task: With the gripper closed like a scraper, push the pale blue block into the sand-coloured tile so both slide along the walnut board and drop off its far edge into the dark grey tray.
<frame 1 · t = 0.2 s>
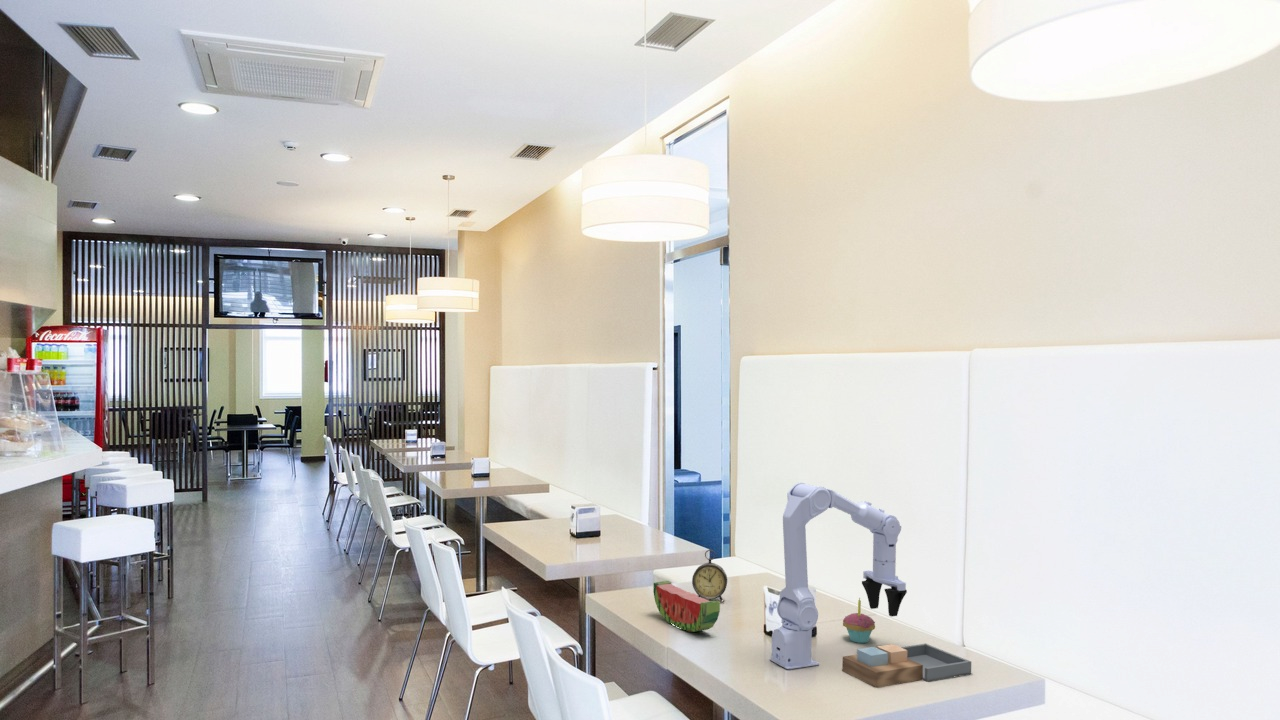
hand: (883, 612, 216), 10 cm above the table, tool pointing down, fingers open, 7 cm apart
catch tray: (926, 667, 203), on the table
tile sand: (891, 659, 199), point 3 cm above the table, touching bench board
cupcake: (858, 641, 225), on the table
alarm clock: (709, 601, 262), on the table
fruit slice: (684, 627, 234), on the table
bench board: (881, 675, 198), on the table
pale blue block: (872, 662, 196), point 3 cm above the table, touching bench board
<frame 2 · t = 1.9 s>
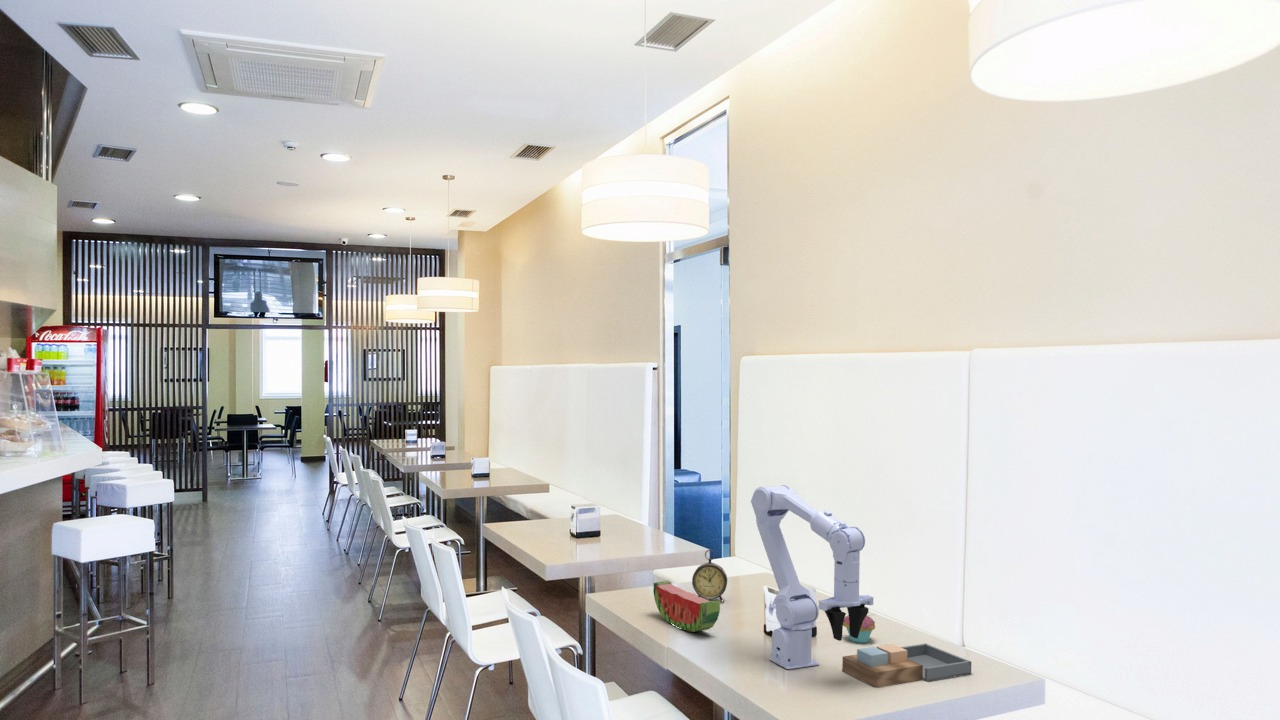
hand: (845, 638, 193), 10 cm above the table, tool pointing down, fingers open, 4 cm apart
nothing on the table moved.
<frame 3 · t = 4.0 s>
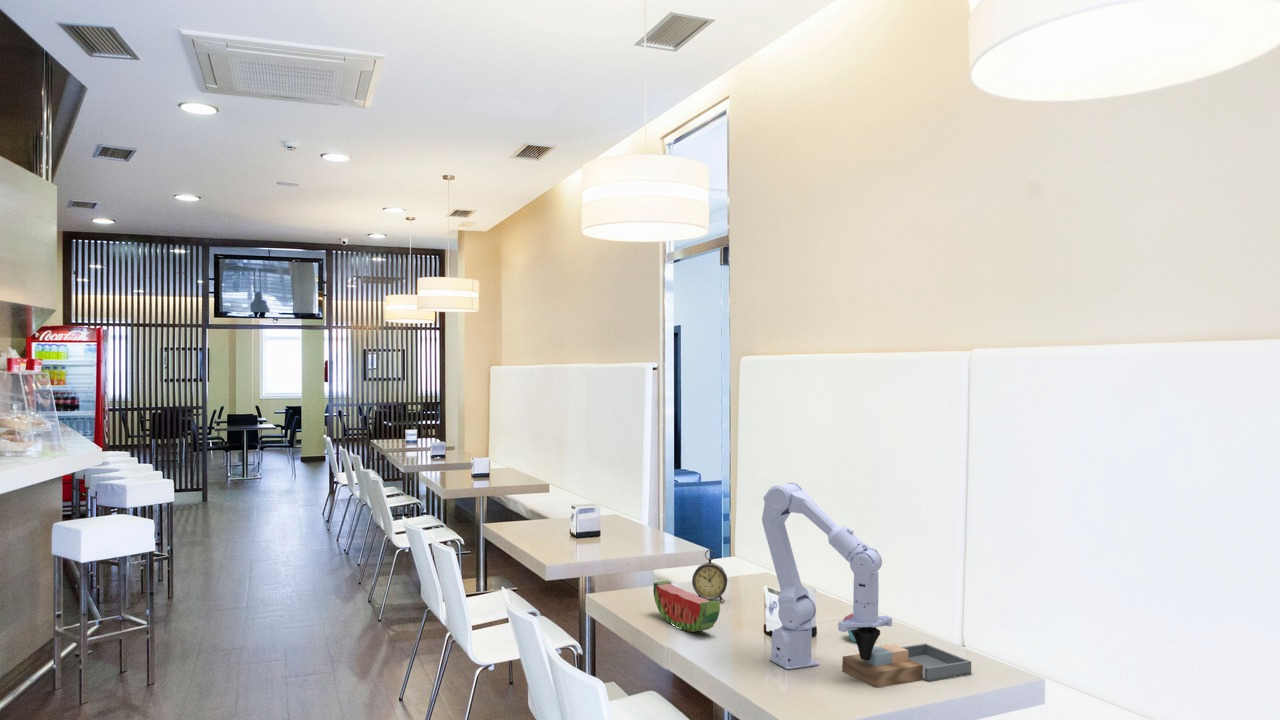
hand: (865, 659, 195), 4 cm above the table, tool pointing down, fingers closed
pale blue block: (876, 661, 197), point 3 cm above the table, touching bench board, gripper
everything else where it was.
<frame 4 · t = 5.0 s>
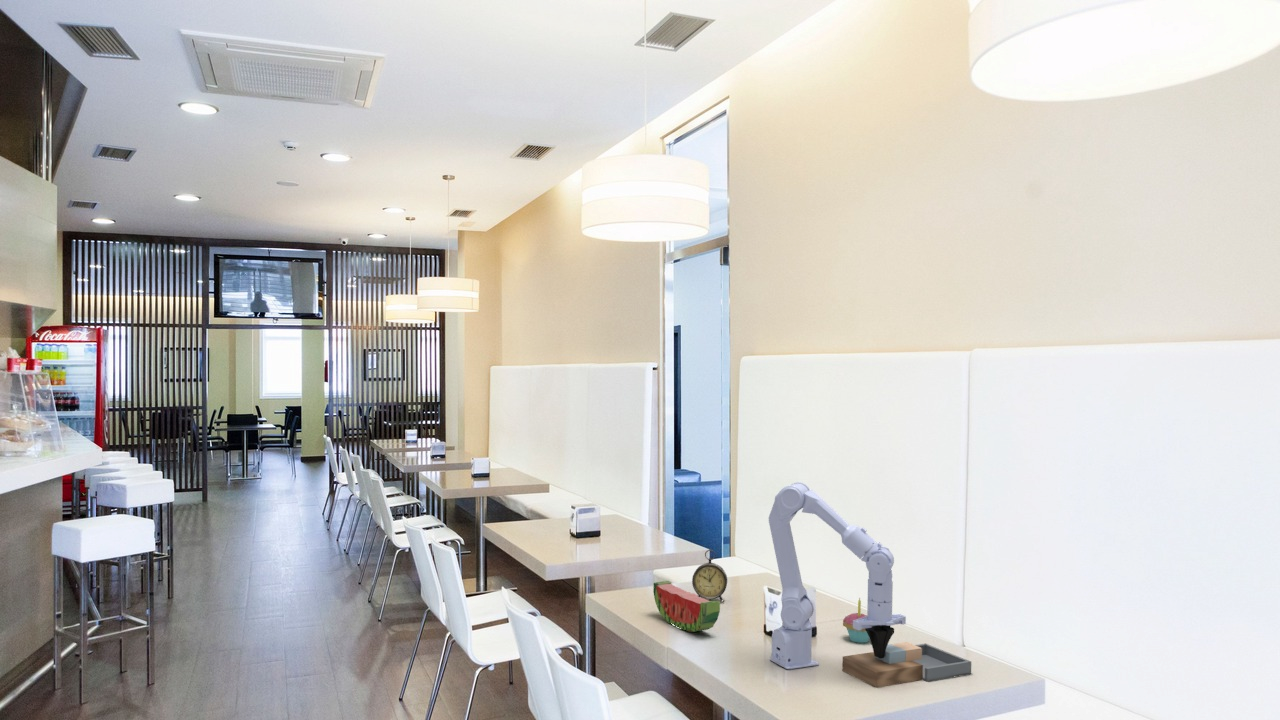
hand: (879, 656, 197), 4 cm above the table, tool pointing down, fingers closed
tile sand: (906, 657, 201), point 3 cm above the table, touching pale blue block
pale blue block: (890, 659, 199), point 3 cm above the table, touching bench board, gripper, tile sand
everything else where it was.
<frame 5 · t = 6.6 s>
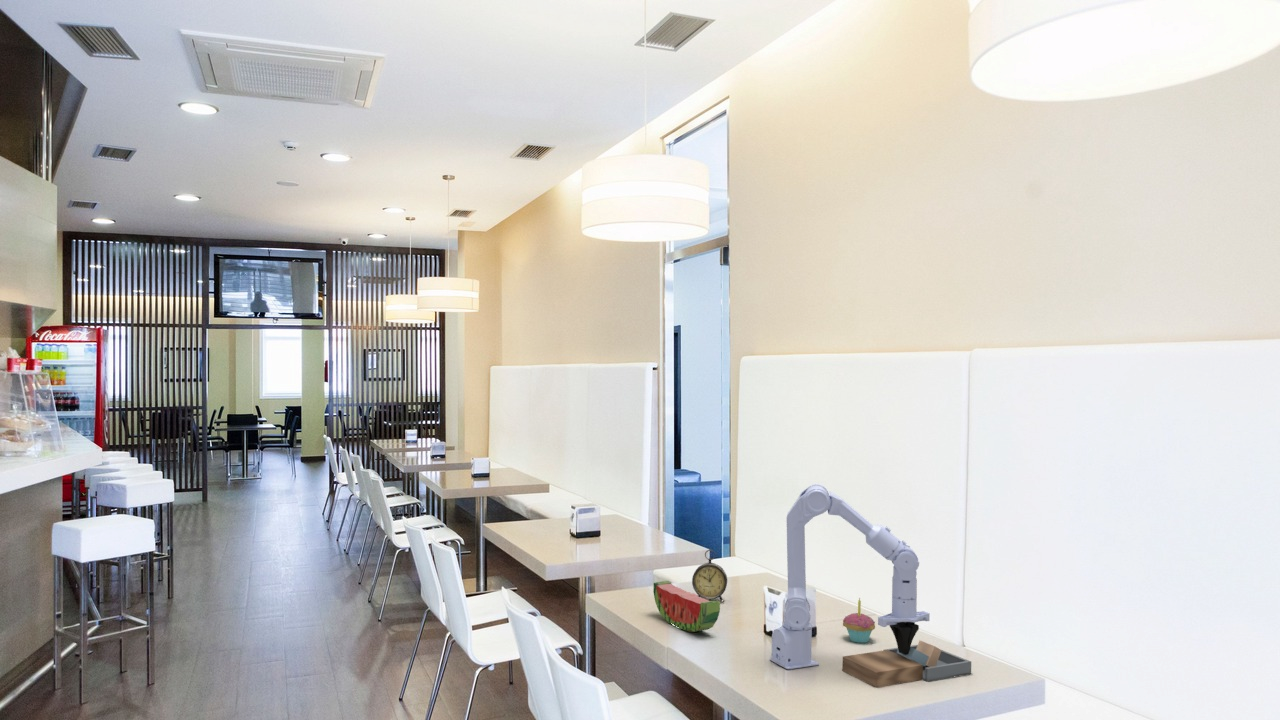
hand: (903, 653, 200), 4 cm above the table, tool pointing down, fingers closed
tile sand: (923, 652, 203), point 4 cm above the table, tilted 118°, touching pale blue block
pale blue block: (910, 659, 202), point 3 cm above the table, tilted 27°, touching gripper, tile sand
everything else where it was.
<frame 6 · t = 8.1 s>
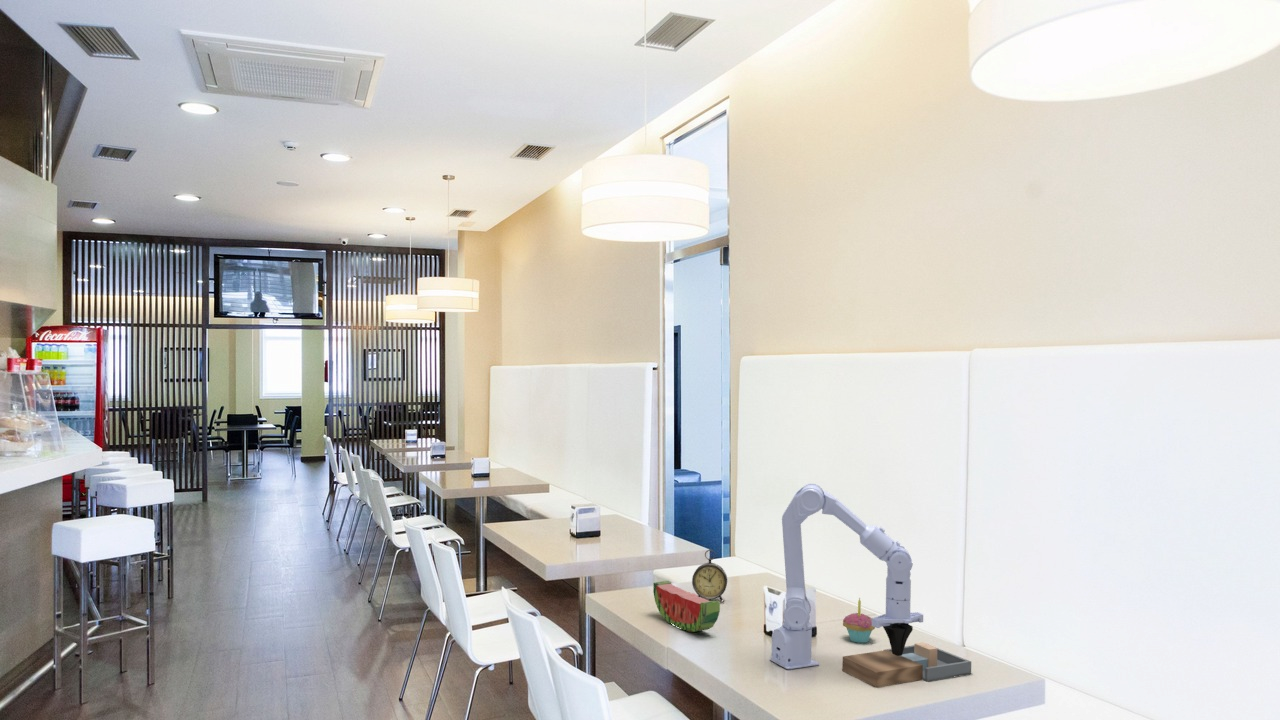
hand: (897, 654, 200), 4 cm above the table, tool pointing down, fingers closed
tile sand: (921, 656, 202), point 3 cm above the table, tilted 90°, touching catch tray
pale blue block: (912, 667, 202), resting on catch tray
everything else where it was.
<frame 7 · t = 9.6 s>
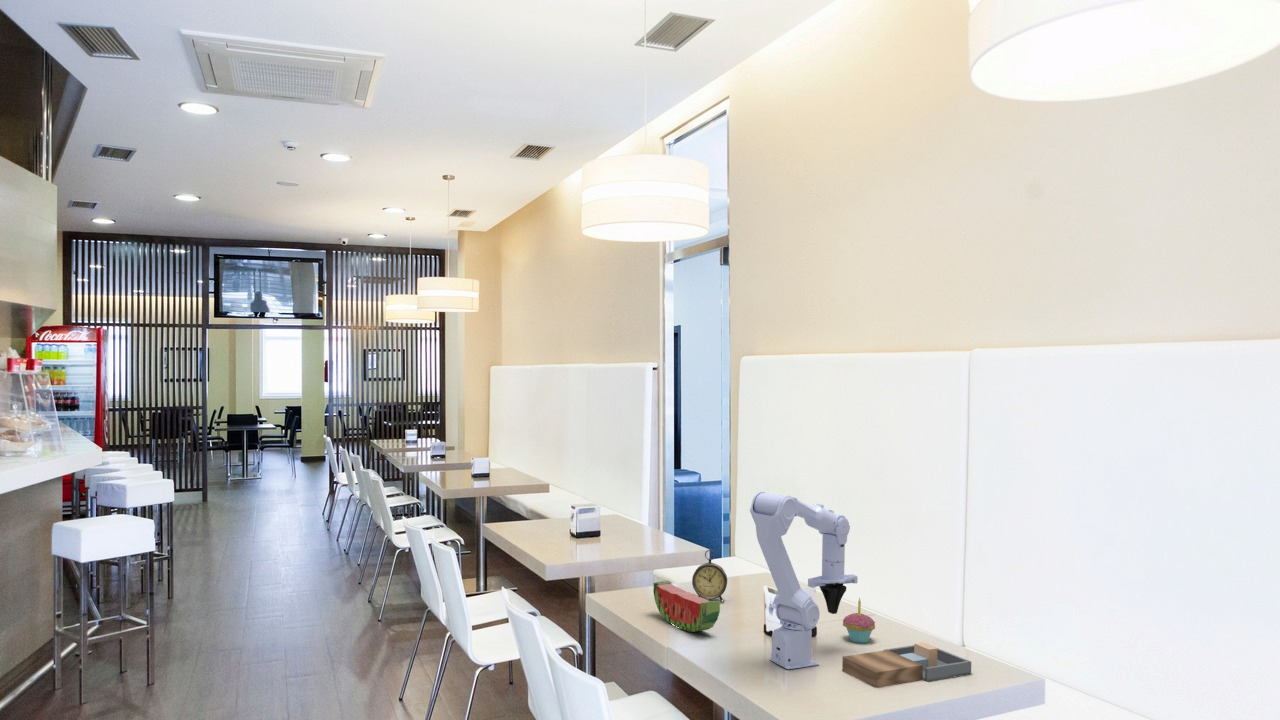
hand: (832, 612, 215), 10 cm above the table, tool pointing down, fingers closed
nothing on the table moved.
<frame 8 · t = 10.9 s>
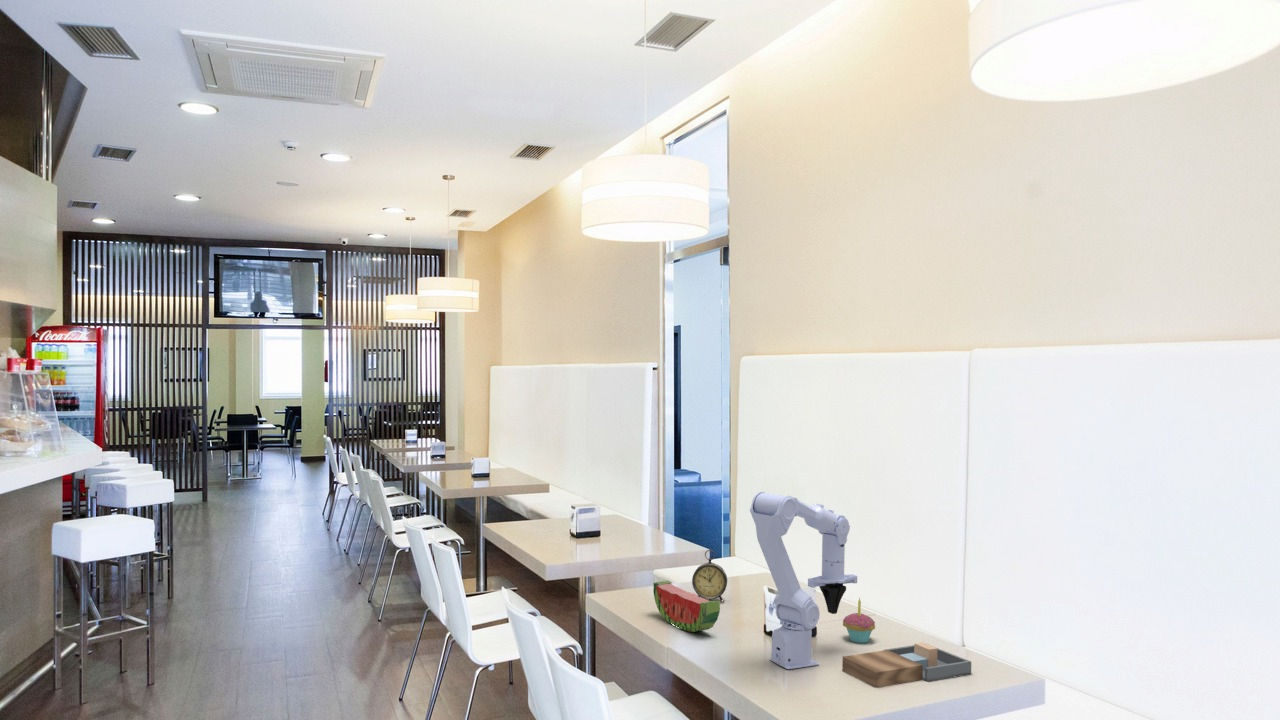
hand: (832, 612, 215), 10 cm above the table, tool pointing down, fingers closed
nothing on the table moved.
at the end: pale blue block inside the target area on the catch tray (4.2 cm from its centre), point 0.5 cm above the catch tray's base; tile sand inside the target area on the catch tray (1.7 cm from its centre), point 3.0 cm above the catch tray's base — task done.
